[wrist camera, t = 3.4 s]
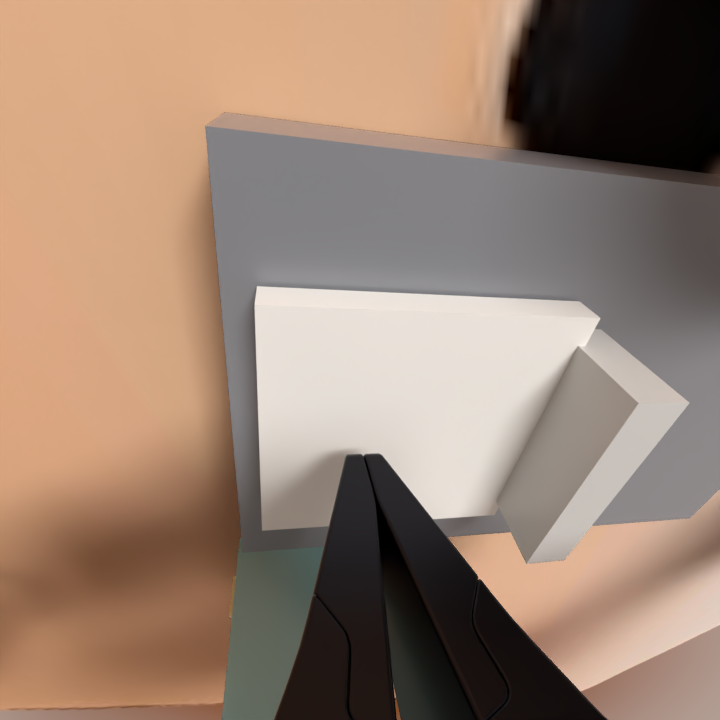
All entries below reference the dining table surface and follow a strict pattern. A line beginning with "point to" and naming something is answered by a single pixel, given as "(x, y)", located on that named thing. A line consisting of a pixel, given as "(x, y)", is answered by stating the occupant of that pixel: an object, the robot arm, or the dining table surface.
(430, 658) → the robot arm
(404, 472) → the panel
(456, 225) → the socket plate
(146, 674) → the dining table surface
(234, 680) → the teal rectangular bottle
